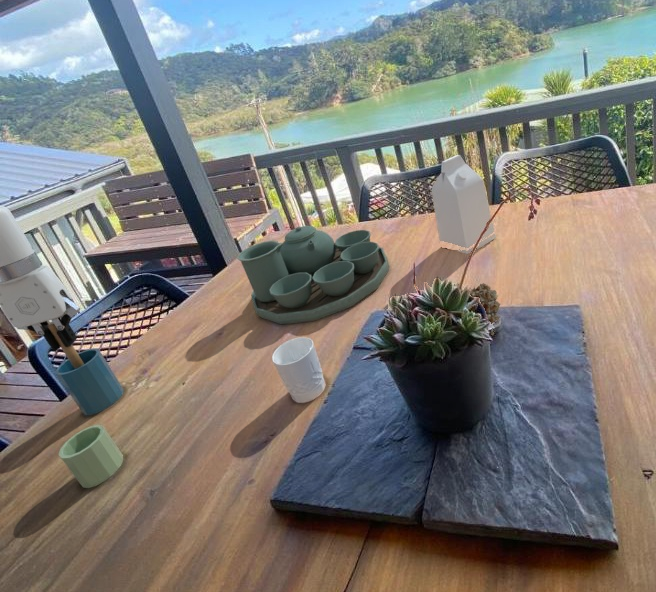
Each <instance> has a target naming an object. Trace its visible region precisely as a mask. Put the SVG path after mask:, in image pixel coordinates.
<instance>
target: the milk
mask: <svg viewBox="0 0 656 592" xmlns="http://www.w3.org/2000/svg"><path fill="white" fill-rule="evenodd" d="M440 169H441V170H440V174H439V175H438V177H437V178H436V179H435V181H434V182H433V184H432V186H431V198H432V203H433V210H434V216H435V222H436V228H437V233H438V239H439V240H440V241H444V242H448V243H452V244H455V245H458V246H461V247H465V248H469V247H470V246H472V245H473V244H475V243H476V241H477V240H478V238H479V236H480V234H481V232H482V230H483V229H484V228H485V226H486V223H487V222H488V221H489V219H490V218H491V217H492V214H491V209H490V204H489V201H488V195H487V190H486V187H485V184H484V180H483V178H482V177H481V175H480V174H479V173H478V172H476V171H475V170H474V169H473V168H471V166H469V165H468V163H466V161H465V160H464V158H463V157H462V155H461V154H456V155H453V156H452V157H451V156H450V158H447V159H444V160H443V161H441V167H440ZM493 232H495V234H493V235H492V236H490V237H489V238H487V239H485V238H486V237H488V236H489V235H490V234H492V233H493ZM484 237H485V238H484ZM483 238H484V239H485V240H484V241H482V240H483ZM496 238H497V235H496V231H495V227H494V222H493V221H492V222H491V224H490V226H489V228H488V230H487V231H486V233H485V234H484V236H483V237H482V240H481V242H480V243H479V246H478V247H477V249H476V250H479V249H481V248H482V247H484V246H485V245H487V244H489V243H490V242H492V241H494V240H496ZM440 241H439V242H440ZM472 249H473V247H472V248H471V249H469V250H468V251H466V250H462V251H461V250H460V249H459V250H460V251H457V252H458V253H462V254H465V255H468V254H470V253H472V252H473V251H472ZM471 251H472V252H471ZM469 252H470V253H469Z"/></svg>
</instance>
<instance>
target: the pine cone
mask: <svg viewBox="0 0 656 592" xmlns="http://www.w3.org/2000/svg"><path fill="white" fill-rule="evenodd" d="M496 290H497V289H492V287H491V286H490V285H488V284H486V283H484V282H483V283H479V285H478V286H477V287H476V286H473V288H471V289H470V290H469V292H470V295H471V296H472V297H479V298H480V302H481V304H482V305H483V307H484V308H485V311H486V314H487V317H488V320H489V321H490V322H491V324H492V323H493V322H495V320H497V323H498V322H500V318H501V317H500V315H499V314H498V312H499V311H500V310H501V307H500V306H501V303H500V302H499V301H498V296H499V295H498V294H497V291H496ZM494 332H495V331H494ZM494 332H493V328H492V330H491V335H492V336H494V334H495V333H494Z"/></svg>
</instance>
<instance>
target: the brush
mask: <svg viewBox="0 0 656 592" xmlns="http://www.w3.org/2000/svg"><path fill="white" fill-rule="evenodd" d="M49 322H50V323H48V324H47V327H48V328H49V330H50V331H51V333H52V334H53V336H54V337H55V339H56V340H57V342H58V344H59V345H60V348H61V350H62V351H63V353H64V355H65V356H66V358H67V359H69V361H70V362H71V364H72V365H73V367H74V368H75V369H77V368H79V367H81V366H83V365H85V364H84V363H83V361H82V359H81V358H80V356H79V355H78V353H79V352H78V351H77V350H76V348H75V347H74V345H73V344H72V345H71V346H69V347H65V346H64V344H63V342H62V341H61V339H60V338H59V336H58V335H57V331H58V329H57V328H56V326H55V324H54V323H53V321H52V320H51V321H49Z"/></svg>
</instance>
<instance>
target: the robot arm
mask: <svg viewBox="0 0 656 592" xmlns="http://www.w3.org/2000/svg"><path fill="white" fill-rule="evenodd" d="M0 307H1V310H2V312H3V313H4V316H5V317H6V319H7V320H8V322H9V323H10V324H11V325H12V326H13V327H14V328H16V329H17V330H27V331H28V330H29V331H31V332H34V333H36V334H37V336H41V337H42V336H43V338H44V340H45V341H46V342H47V344H48V345H49V347H50V348H51V350H52V351H53V352H56V351H58V350H59V349H60V348H61V347H60V345H59V344H58V342H57V340H56V339H55V337H54V336H53V334H52V333H51V331H50V330H49V328H48V327H47V324H48V323H50V322H52V321H53V323H54V324H55V326H56V328H57V329H58V331H57V335H58V336H59V338H60V339H61V341H62V342H63V344H64V346H65V347H69V346H71V345H73V344H74V343H75V342H76V341H77V339H78V337H77V334H76V333H75V331H74V330H73V328H72V326H71V325H70V324H71V321H72V318H73V317H74V316H75V315H76V314H78V313H79V312H80V311H81V307H79V306H78V305H77V304H76V303H75V302H74V299H73V297H72V295H71V294H70V292H69V291H68V289H67V287H66V286H65V285H64V283H63V282H62V281H61V279H60V278H59V277H58V276H57V275H56V274H55V272H54V271H53V270H52V269H51V268H50V267H49V266H48V265H44V264H43V262H42V260H41V259H40V257H39V256H38V254H37V252H36V250H35V249H34V248H33V246H32V244H31V242H30V241H29V239H28V238H27V236H26V234H25V232H24V231H23V229H22V228H21V226H20V225H19V223H18V221H17V220H16V218H15V216H14V214H13V213H12V211H11V210H10V209H9V208H8V207H7V206H4V205H0ZM66 311H67V312H66Z"/></svg>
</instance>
